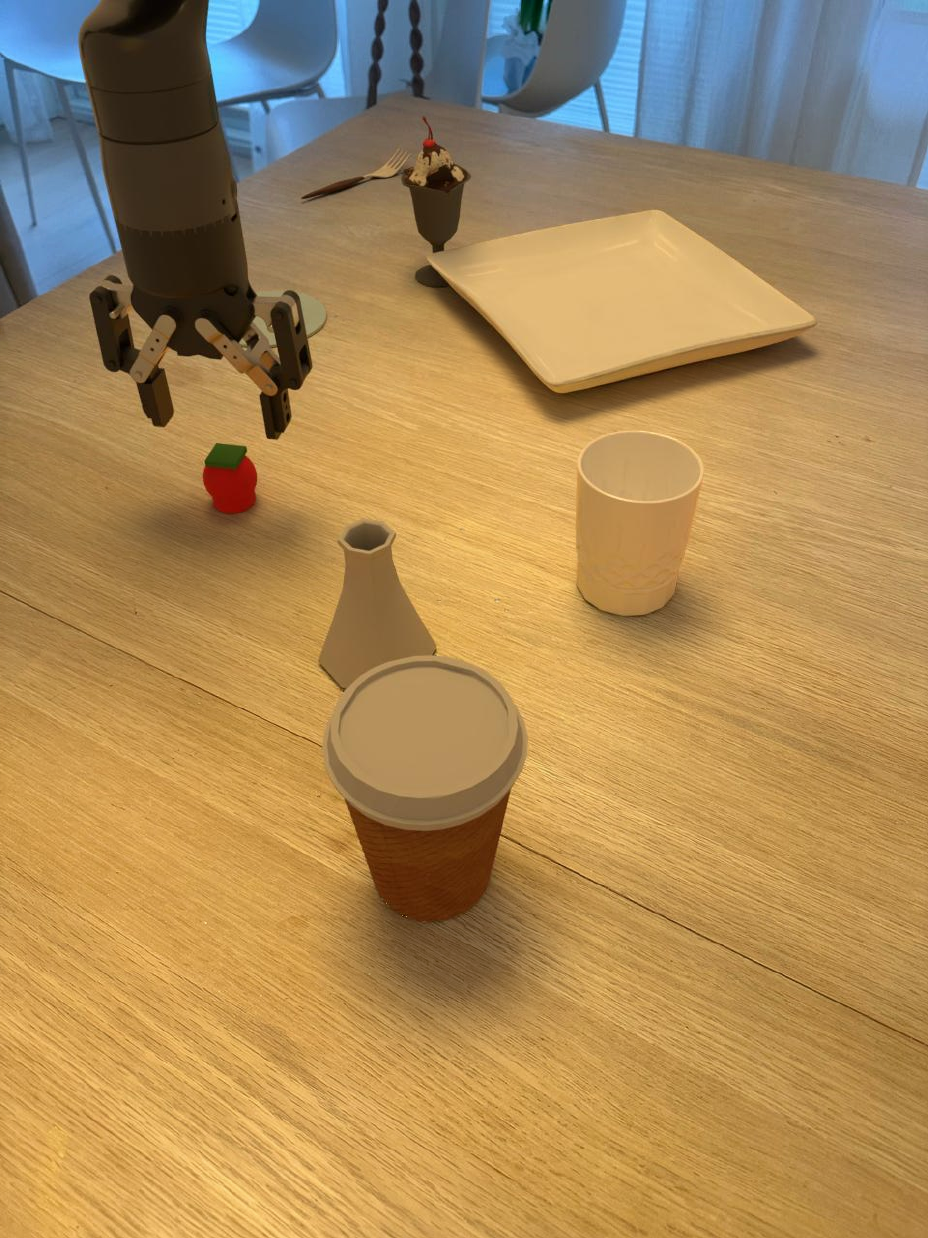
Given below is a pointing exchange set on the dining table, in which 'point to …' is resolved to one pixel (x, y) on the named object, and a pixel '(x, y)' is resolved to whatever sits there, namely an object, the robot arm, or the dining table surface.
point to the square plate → (617, 298)
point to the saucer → (311, 313)
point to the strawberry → (230, 478)
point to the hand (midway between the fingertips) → (220, 427)
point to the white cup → (634, 518)
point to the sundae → (435, 200)
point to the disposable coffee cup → (426, 778)
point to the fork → (362, 177)
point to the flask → (371, 608)
